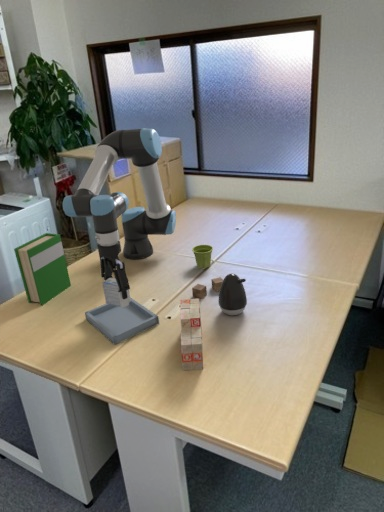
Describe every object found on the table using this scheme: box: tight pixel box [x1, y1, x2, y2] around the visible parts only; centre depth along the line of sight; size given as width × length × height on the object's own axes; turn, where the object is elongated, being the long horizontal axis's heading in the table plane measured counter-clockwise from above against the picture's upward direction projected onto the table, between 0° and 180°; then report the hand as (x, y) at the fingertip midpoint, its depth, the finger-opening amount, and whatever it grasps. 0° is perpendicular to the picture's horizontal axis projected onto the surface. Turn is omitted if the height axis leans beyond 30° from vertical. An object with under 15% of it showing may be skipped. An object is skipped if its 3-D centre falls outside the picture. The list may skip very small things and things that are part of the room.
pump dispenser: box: [218, 273, 248, 316], centre depth 144 cm, size 10×10×15 cm
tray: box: [84, 296, 160, 345], centre depth 146 cm, size 22×18×3 cm
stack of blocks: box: [179, 298, 204, 371], centre depth 126 cm, size 21×6×12 cm, turn 1°
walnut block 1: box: [191, 283, 208, 300], centre depth 159 cm, size 4×4×4 cm
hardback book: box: [13, 232, 72, 307], centre depth 166 cm, size 18×7×24 cm, turn 156°
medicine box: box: [102, 277, 131, 306], centre depth 141 cm, size 8×4×9 cm, turn 65°
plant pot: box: [191, 244, 214, 269], centre depth 183 cm, size 9×9×9 cm
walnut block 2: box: [210, 276, 224, 292], centre depth 163 cm, size 4×4×4 cm
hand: (118, 301), depth 143 cm, fingers closed on medicine box, 9 cm apart
